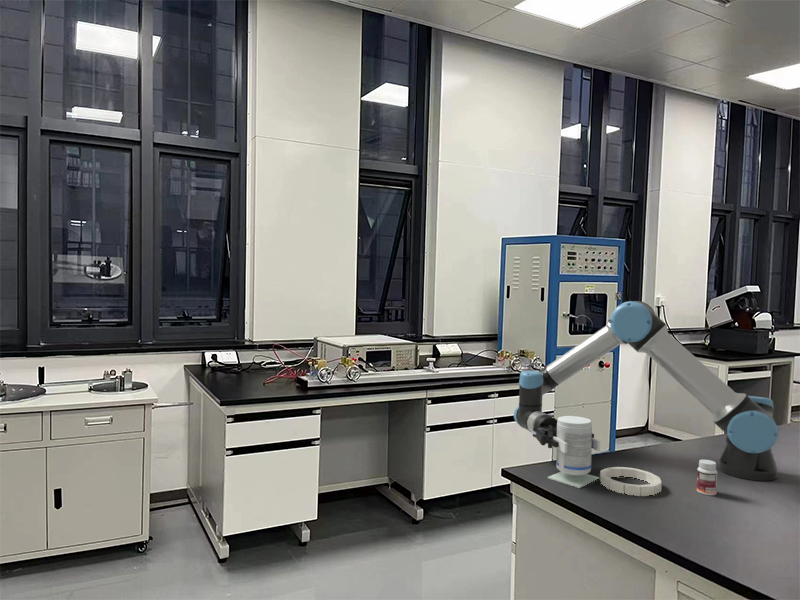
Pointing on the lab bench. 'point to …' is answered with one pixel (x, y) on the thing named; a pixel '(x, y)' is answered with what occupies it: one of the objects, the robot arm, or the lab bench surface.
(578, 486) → the rubber mat
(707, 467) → the pill bottle
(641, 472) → the ring dish
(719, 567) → the lab bench surface
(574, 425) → the supplement tub
